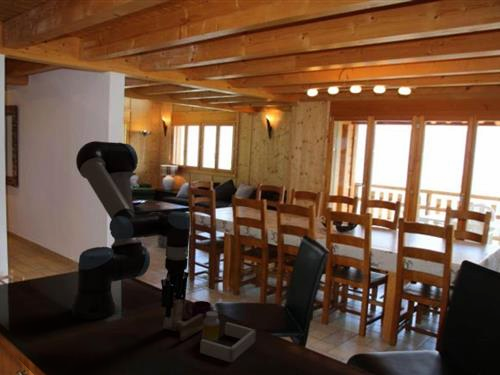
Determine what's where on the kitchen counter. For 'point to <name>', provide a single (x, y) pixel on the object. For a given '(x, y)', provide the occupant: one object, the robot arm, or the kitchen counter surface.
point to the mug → (199, 308)
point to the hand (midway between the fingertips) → (172, 323)
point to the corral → (236, 350)
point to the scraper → (181, 326)
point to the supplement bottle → (211, 327)
